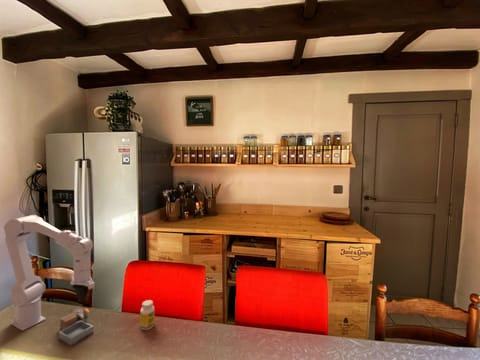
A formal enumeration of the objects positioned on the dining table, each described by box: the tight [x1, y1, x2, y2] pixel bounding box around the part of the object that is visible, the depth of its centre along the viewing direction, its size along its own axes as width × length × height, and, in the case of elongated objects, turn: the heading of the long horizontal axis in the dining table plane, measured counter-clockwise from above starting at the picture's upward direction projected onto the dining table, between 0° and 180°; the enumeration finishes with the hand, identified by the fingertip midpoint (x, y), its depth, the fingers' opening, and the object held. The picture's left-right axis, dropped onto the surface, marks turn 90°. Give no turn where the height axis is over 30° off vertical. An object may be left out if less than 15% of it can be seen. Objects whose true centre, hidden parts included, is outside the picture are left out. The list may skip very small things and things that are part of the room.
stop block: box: [59, 312, 78, 331], centre depth 93 cm, size 4×4×4 cm
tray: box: [58, 319, 94, 347], centre depth 89 cm, size 8×8×2 cm
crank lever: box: [71, 307, 90, 322], centre depth 99 cm, size 12×4×6 cm, turn 55°
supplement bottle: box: [139, 299, 155, 331], centre depth 95 cm, size 5×5×10 cm
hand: (82, 300), depth 96 cm, fingers closed
